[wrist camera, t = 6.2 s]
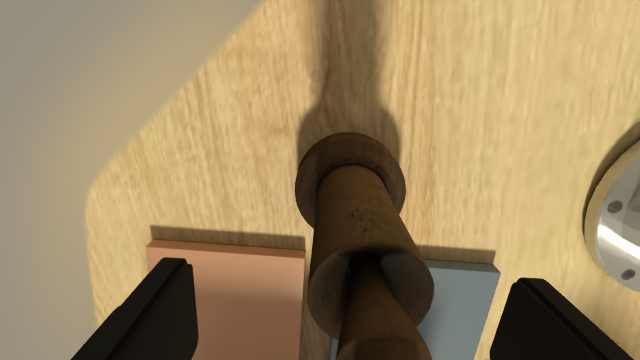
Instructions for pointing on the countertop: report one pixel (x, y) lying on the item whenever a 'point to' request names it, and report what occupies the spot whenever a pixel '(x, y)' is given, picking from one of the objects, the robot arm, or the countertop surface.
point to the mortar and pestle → (362, 251)
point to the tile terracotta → (242, 298)
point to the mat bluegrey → (455, 309)
